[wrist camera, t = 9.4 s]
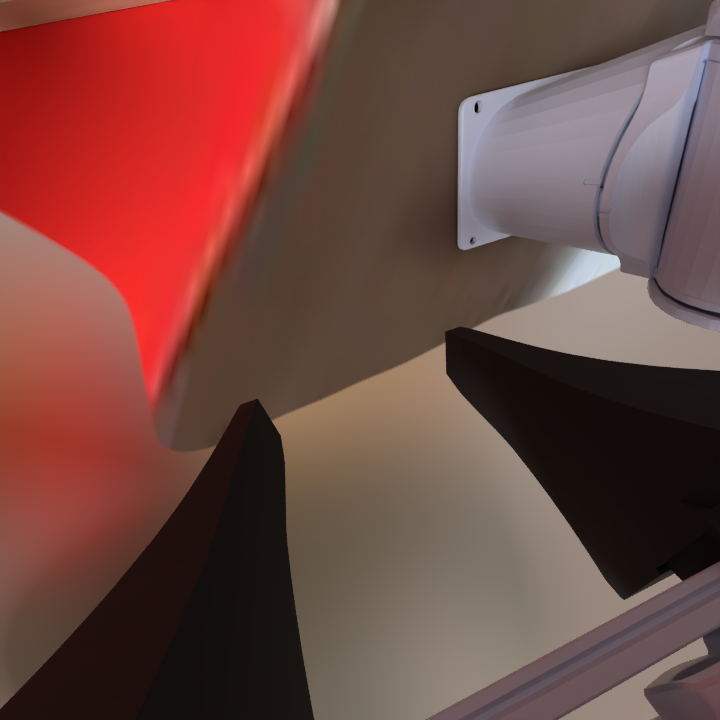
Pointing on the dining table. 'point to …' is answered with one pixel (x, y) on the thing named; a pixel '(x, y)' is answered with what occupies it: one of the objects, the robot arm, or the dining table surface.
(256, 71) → the dining table surface
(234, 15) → the dining table surface
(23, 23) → the pin board
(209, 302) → the dining table surface
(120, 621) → the robot arm
